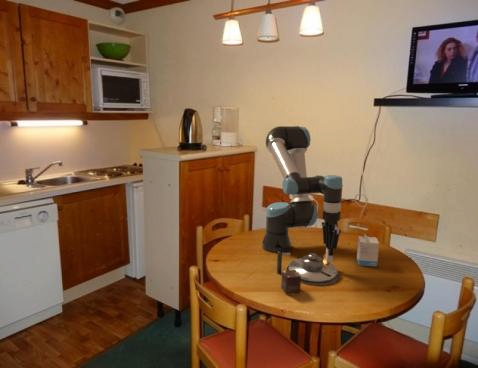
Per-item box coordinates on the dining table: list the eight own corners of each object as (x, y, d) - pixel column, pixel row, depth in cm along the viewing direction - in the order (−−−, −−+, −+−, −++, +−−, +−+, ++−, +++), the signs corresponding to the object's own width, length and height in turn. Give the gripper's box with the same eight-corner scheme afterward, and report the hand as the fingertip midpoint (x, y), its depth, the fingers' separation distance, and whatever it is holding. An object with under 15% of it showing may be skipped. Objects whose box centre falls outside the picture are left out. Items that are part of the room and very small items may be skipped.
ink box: (377, 267, 160) (380, 239, 157) (358, 265, 162) (360, 238, 159) (374, 259, 168) (376, 233, 166) (356, 258, 170) (358, 232, 167)
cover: (304, 272, 149) (304, 259, 147) (299, 263, 157) (300, 251, 156) (324, 272, 149) (325, 259, 148) (319, 263, 158) (320, 250, 156)
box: (300, 293, 136) (301, 276, 135) (285, 295, 135) (286, 277, 133) (294, 286, 142) (295, 269, 140) (280, 287, 141) (281, 270, 139)
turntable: (295, 283, 142) (295, 270, 141) (284, 262, 163) (284, 250, 162) (344, 282, 144) (345, 269, 143) (327, 260, 165) (328, 249, 163)
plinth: (276, 273, 152) (276, 272, 152) (303, 257, 169) (303, 257, 169) (323, 291, 138) (323, 290, 138) (348, 272, 155) (348, 271, 155)
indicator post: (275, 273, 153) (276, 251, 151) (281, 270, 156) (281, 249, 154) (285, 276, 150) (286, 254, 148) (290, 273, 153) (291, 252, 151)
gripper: (347, 214, 146) (344, 266, 151) (332, 206, 158) (329, 255, 163) (331, 215, 144) (328, 268, 149) (317, 207, 157) (314, 256, 161)
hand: (329, 261), depth 156 cm, fingers closed
